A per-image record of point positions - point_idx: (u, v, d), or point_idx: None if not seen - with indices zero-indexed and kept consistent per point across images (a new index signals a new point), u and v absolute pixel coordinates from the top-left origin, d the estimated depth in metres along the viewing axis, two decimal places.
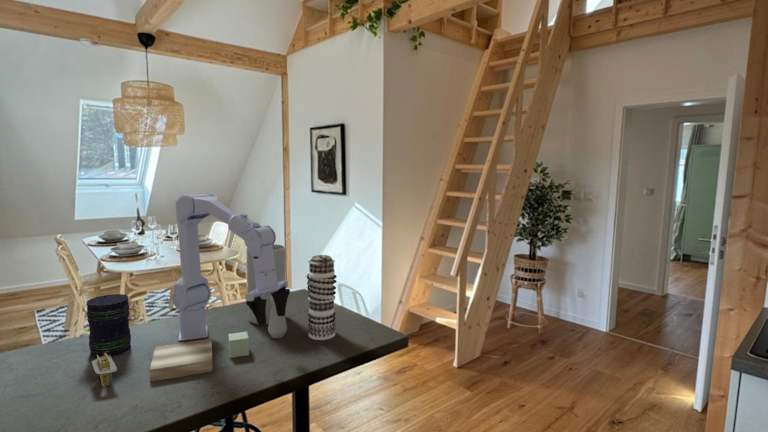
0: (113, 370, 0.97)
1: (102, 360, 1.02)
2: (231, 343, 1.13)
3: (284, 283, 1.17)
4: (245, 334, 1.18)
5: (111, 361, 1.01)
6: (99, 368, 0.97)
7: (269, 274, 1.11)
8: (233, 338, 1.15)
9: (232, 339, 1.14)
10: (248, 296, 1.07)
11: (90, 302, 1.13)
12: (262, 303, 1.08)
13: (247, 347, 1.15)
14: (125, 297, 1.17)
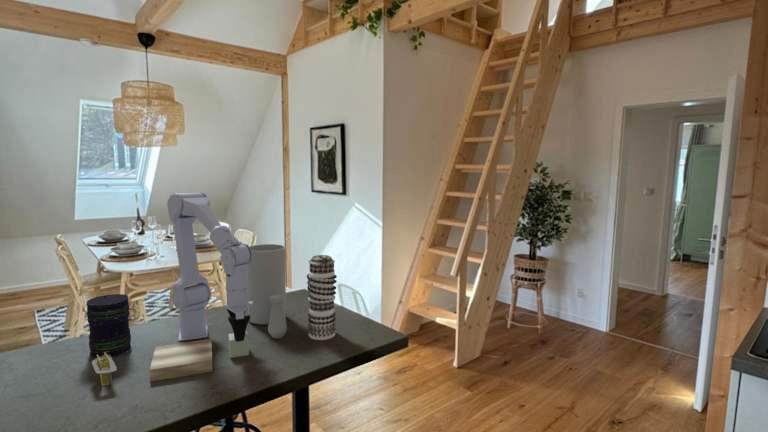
0: (113, 370, 0.97)
1: (102, 360, 1.02)
2: (231, 343, 1.13)
3: None
4: (245, 334, 1.18)
5: (111, 361, 1.01)
6: (99, 368, 0.97)
7: (247, 291, 1.15)
8: (233, 338, 1.15)
9: (232, 339, 1.14)
10: (240, 314, 1.09)
11: (90, 302, 1.13)
12: None
13: (247, 347, 1.15)
14: (125, 297, 1.17)
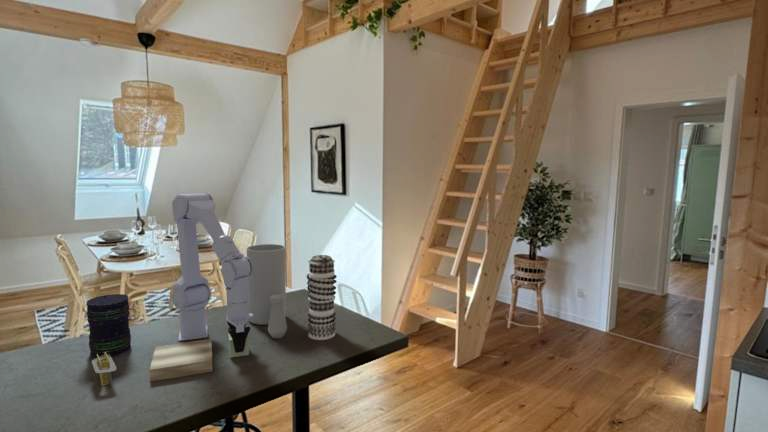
0: (113, 369, 0.97)
1: (102, 359, 1.02)
2: (231, 342, 1.13)
3: None
4: None
5: (111, 360, 1.01)
6: (99, 367, 0.98)
7: (247, 303, 1.15)
8: None
9: None
10: (240, 327, 1.09)
11: (90, 302, 1.13)
12: None
13: (247, 347, 1.15)
14: (125, 297, 1.17)
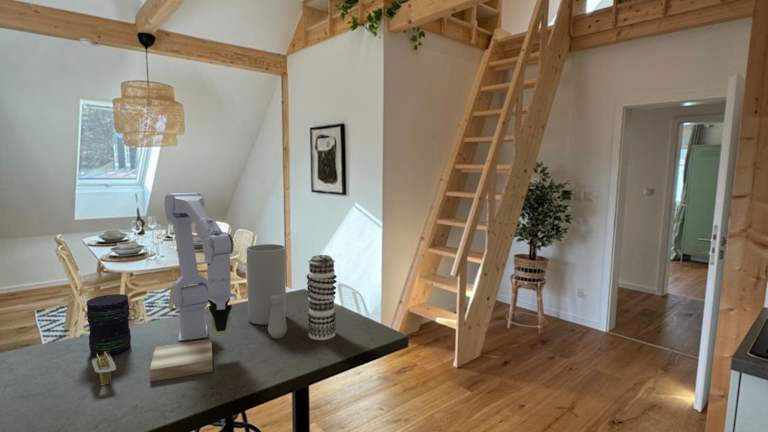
0: (112, 369, 0.97)
1: (102, 359, 1.02)
2: (213, 321, 1.10)
3: None
4: None
5: (111, 360, 1.01)
6: (98, 367, 0.98)
7: (229, 281, 1.12)
8: None
9: None
10: (221, 304, 1.06)
11: (90, 302, 1.13)
12: None
13: (230, 326, 1.12)
14: (125, 297, 1.17)
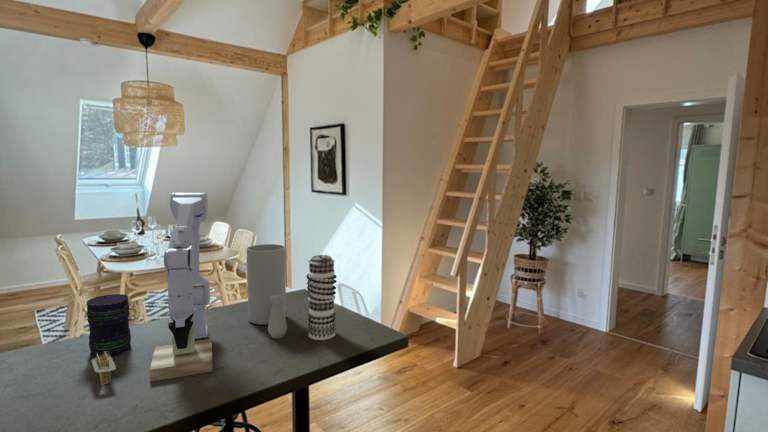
0: (112, 368, 0.98)
1: (102, 359, 1.02)
2: None
3: None
4: (191, 329, 1.10)
5: (110, 360, 1.01)
6: (98, 366, 0.98)
7: (191, 296, 1.07)
8: None
9: None
10: (180, 321, 1.01)
11: (90, 302, 1.13)
12: (191, 325, 1.06)
13: (192, 343, 1.08)
14: (125, 297, 1.17)
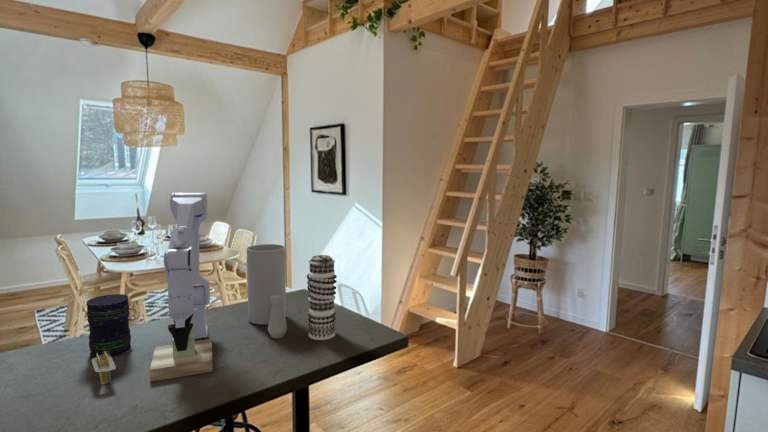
0: (112, 368, 0.98)
1: (102, 358, 1.02)
2: (174, 342, 1.06)
3: None
4: (191, 333, 1.10)
5: (110, 359, 1.02)
6: (98, 366, 0.98)
7: (191, 297, 1.07)
8: None
9: None
10: (180, 322, 1.01)
11: (90, 302, 1.13)
12: (191, 327, 1.05)
13: (192, 347, 1.08)
14: (125, 297, 1.17)
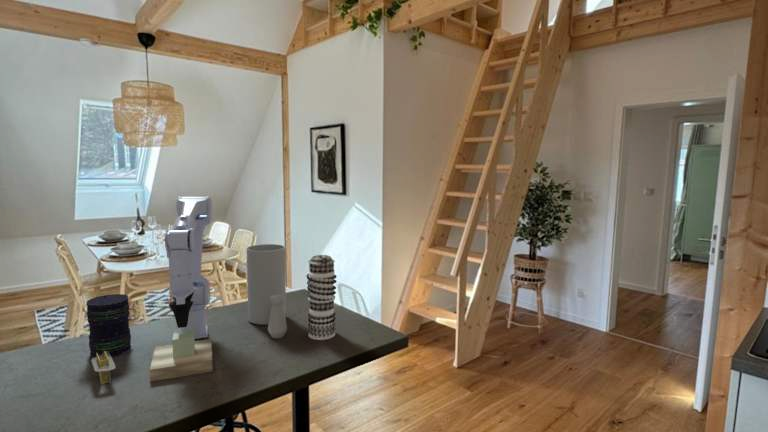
0: (112, 368, 0.98)
1: (101, 358, 1.03)
2: (174, 342, 1.06)
3: None
4: (191, 333, 1.10)
5: (110, 359, 1.02)
6: (98, 366, 0.98)
7: (191, 276, 1.12)
8: (177, 337, 1.07)
9: (176, 338, 1.06)
10: (181, 299, 1.06)
11: (90, 302, 1.13)
12: (191, 305, 1.10)
13: (192, 347, 1.08)
14: (125, 297, 1.17)
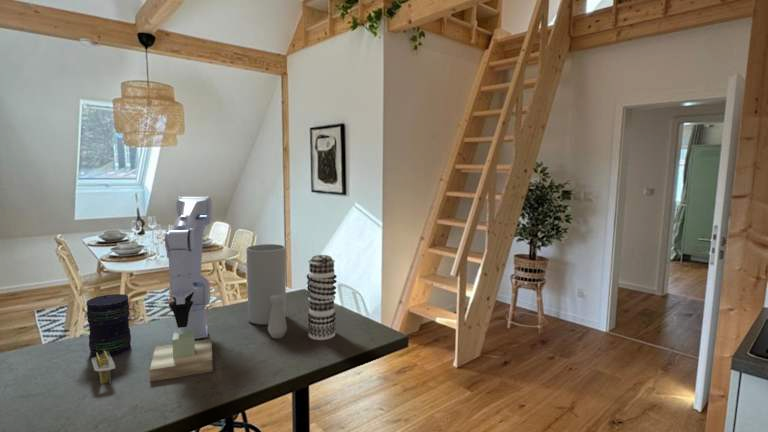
0: (111, 367, 0.98)
1: (101, 358, 1.03)
2: (174, 342, 1.06)
3: None
4: (191, 333, 1.10)
5: (110, 359, 1.02)
6: (98, 365, 0.98)
7: (191, 276, 1.12)
8: (177, 337, 1.07)
9: (176, 338, 1.06)
10: (181, 299, 1.06)
11: (90, 302, 1.13)
12: (191, 305, 1.10)
13: (192, 347, 1.08)
14: (125, 297, 1.17)
